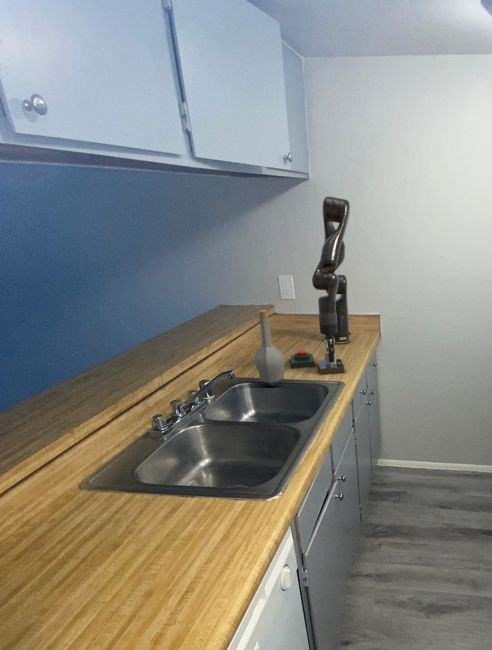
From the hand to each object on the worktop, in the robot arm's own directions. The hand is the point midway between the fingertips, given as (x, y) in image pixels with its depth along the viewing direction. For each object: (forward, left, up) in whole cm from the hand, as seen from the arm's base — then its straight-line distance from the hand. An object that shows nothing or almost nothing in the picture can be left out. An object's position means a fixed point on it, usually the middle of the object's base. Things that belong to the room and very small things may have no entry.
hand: (330, 359), depth 206 cm
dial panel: (0, 0, -5) cm, 5 cm away
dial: (0, 0, -2) cm, 2 cm away
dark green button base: (-11, -12, -5) cm, 17 cm away
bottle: (+16, -25, -5) cm, 30 cm away
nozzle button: (-11, -12, -1) cm, 16 cm away
